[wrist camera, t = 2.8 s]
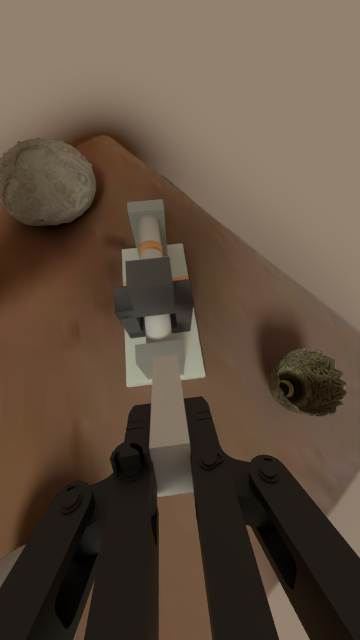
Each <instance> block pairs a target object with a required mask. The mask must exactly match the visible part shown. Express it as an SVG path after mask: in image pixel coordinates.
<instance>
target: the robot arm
mask: <svg viewBox="0 0 360 640" xmlns="http://www.w3.org/2000/svg"><path fill="white" fill-rule="evenodd" d="M110 461H111V464H112V468H113V472H114V473H113V474H111V475H110V476H109V477H108V478H106V479H104V480H102V481H100V482H98V483H96V484H94V485H91V486H89V485H88V483H85V482H83V481H79V482H73V483H71V484H69V485H67V486H66V487H64V488H63V489H62V490H61V491H59V493H58V494H57V495H56V497H55V498H54V499H53V501H52V503H51V504H50V506H49V507H48V509H47V511H46V512H45V514H44V516H43V517H42V519H41V521H40V522H39V524H38V526H37V527H36V529H35V531H34V532H33V534H32V536H31V537H30V539H29V541H28V542H27V544H26V546H25V547H24V549H23V551H22V552H21V554H20V556H19V557H18V559H17V560H16V562H15V564H14V565H13V567H12V569H11V570H10V572H9V574H8V575H7V577H6V579H5V580H4V582H3V584H2V585H1V587H0V640H74V637H75V634H76V631H77V628H78V625H79V622H80V620H81V617H82V614H83V611H84V608H85V605H86V602H87V600H88V597H89V594H90V591H91V588H92V585H93V582H94V580H95V582H94V588H93V593H92V599H91V604H90V610H89V615H88V620H87V626H86V631H85V637H84V640H159V513H158V507H157V494H158V497H161V496H168V495H175V494H182V493H189V492H194V498H195V508H196V518H197V523H198V531H199V539H200V547H201V554H202V562H203V570H204V578H205V586H206V593H207V601H208V609H209V617H210V624H211V632H212V640H279V638H278V634H277V631H276V628H275V624H274V621H273V617H272V614H271V611H270V607H269V604H268V600H267V597H266V593H265V590H264V586H263V583H262V580H261V576H260V573H259V569H258V566H257V562H256V559H255V556H254V552H253V549H252V545H251V542H250V538H249V535H248V532H247V528H246V525H249V526H251V528H252V530H253V532H254V534H255V536H256V538H257V539H258V541H259V543H260V545H261V547H262V549H263V551H264V553H265V555H266V557H267V559H268V560H269V562H270V564H271V566H272V568H273V570H274V572H275V574H276V576H277V578H278V580H279V581H280V583H281V585H282V587H283V589H284V591H285V593H286V595H287V596H288V598H289V601H290V602H291V604H292V606H293V608H294V610H295V612H296V614H297V615H298V618H299V620H300V622H301V623H302V625H303V627H304V629H305V631H306V633H307V635H308V637H309V638H310V640H360V558H359V557H358V556H357V554H356V553H355V552H354V550H353V549H352V548H351V547H350V546H349V544H348V543H347V542H346V541H345V539H344V538H343V537H342V536H341V534H340V533H339V532H338V531H337V530H336V528H335V527H334V526H333V525H332V523H331V522H330V521H329V520H328V518H327V517H326V516H325V515H324V513H323V512H322V511H321V510H320V509H319V507H318V506H317V505H316V504H315V502H314V501H313V500H312V499H311V497H310V496H309V495H308V494H307V493H306V491H305V490H304V489H303V488H302V486H301V485H300V484H299V483H298V481H297V480H296V479H295V478H294V477H293V475H292V474H291V473H290V472H289V470H288V469H287V468H286V467H285V465H284V464H282V463H281V462H280V461H279V460H278V459H276V458H274V457H272V456H269V455H259V456H256V457H255V458H253V459H252V460H251V462H246V461H240V460H236V459H233V458H231V457H229V456H228V455H227V454H226V453H224V451H223V450H222V449H221V447H220V444H219V441H218V437H217V434H216V430H215V427H214V423H213V420H212V416H211V413H210V409H209V406H208V403H207V401H206V400H205V399H204V398H203V397H202V396H201V397H194V398H186V399H183V392H182V385H181V378H180V371H179V365H178V358H177V354H176V355H167V356H159V357H153V377H152V399H151V404H143V405H135V406H134V407H133V408H132V410H131V411H130V413H129V416H128V424H127V428H126V434H125V440H124V442H123V443H122V444H120V445H119V446H117V448H116V449H115V450H114V451H113V452H112V455H111V457H110Z"/></svg>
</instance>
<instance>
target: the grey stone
mask: <svg viewBox="0 0 360 640" xmlns="http://www.w3.org/2000/svg"><path fill="white" fill-rule="evenodd" d="M95 192H96V179H95V176H94V173H93V170H92V164H91V163H89V162H88V161H87V159H86V158H85V157H84V156H83V155H82V154H81V153H80V152H79V151H78V150H77V149H75V148H74V147H73V146H71V145H69V144H66V143H64V142H63V140H60V141H57V140H52V139H39V138H37V139H30V140H26V141H23V142H18V143H17V145H15V146H14V147H13V148H11V149H10V150H8V152H6V153H3V157H2V158H0V203H1V204H2V206H3V207H4V208H5V210H6V211H7V212H8V213H9V214H11V216H12V217H14V218H16V219H17V220H18V221H20V222H22V223H24V224H26V225H31V226H44V225H59V224H61V223H70V222H72V221H73V220H75V218H77V217H79V216H81V215H83V213H84V212H85V211H86V210H87V209H88V208H89V207H90V206H91V204H92V201H93V199H94V196H95Z"/></svg>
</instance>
